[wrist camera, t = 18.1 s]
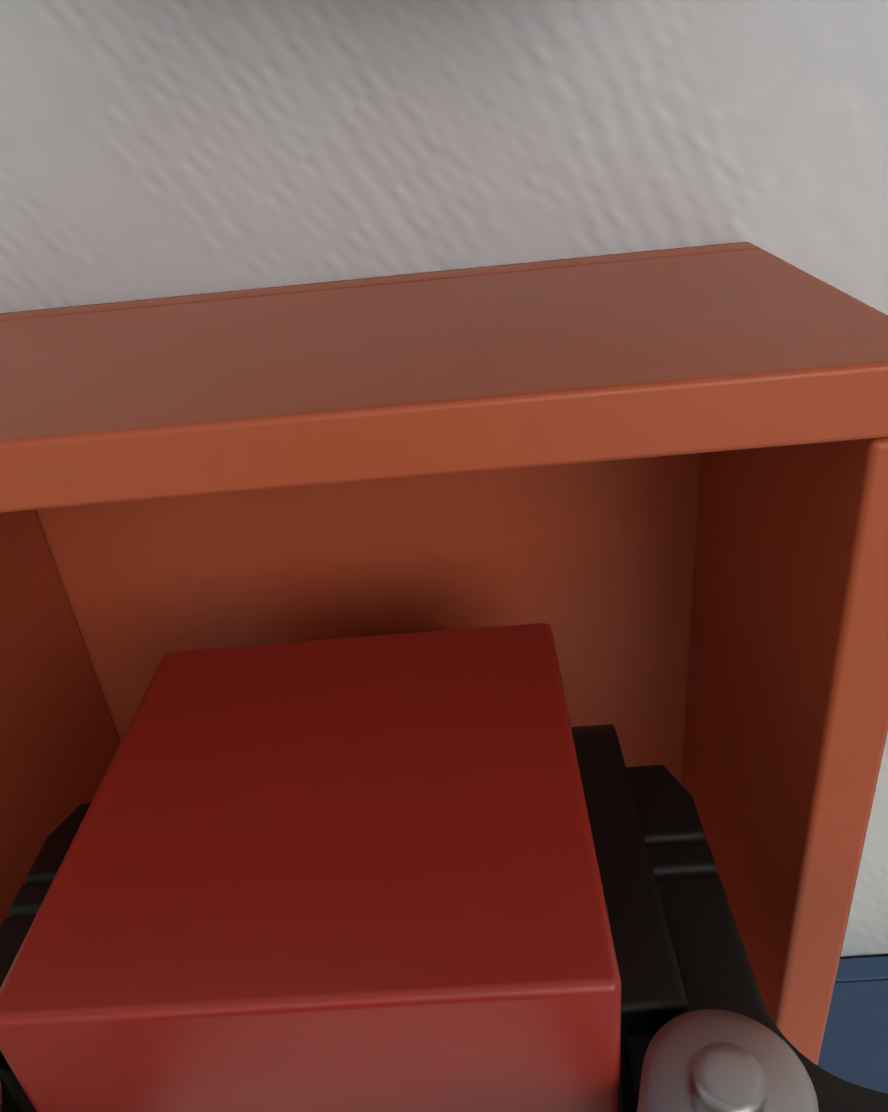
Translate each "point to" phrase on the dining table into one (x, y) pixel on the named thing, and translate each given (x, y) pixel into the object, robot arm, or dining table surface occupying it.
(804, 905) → the orange bin
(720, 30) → the dining table surface
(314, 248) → the dining table surface
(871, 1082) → the blue tray
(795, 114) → the dining table surface
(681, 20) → the dining table surface
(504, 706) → the red block
